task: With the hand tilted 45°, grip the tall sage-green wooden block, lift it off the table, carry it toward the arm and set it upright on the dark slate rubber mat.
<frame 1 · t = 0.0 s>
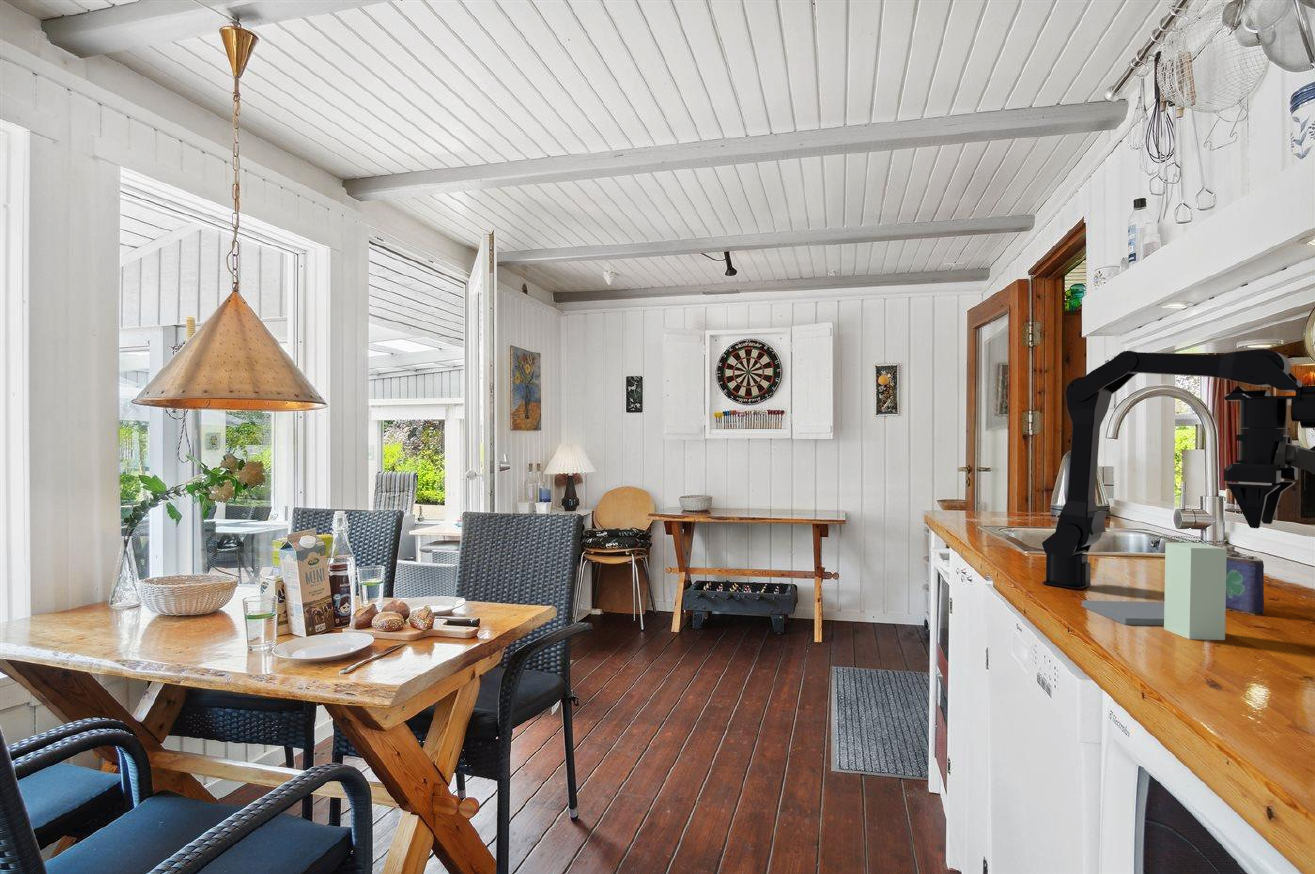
hand: (1261, 525, 110), 15 cm above the worktop, tool pointing down, fingers open, 9 cm apart
sage block: (1193, 634, 100), on the worktop
clover slab: (1229, 610, 115), on the worktop
slate mat: (1146, 615, 110), on the worktop
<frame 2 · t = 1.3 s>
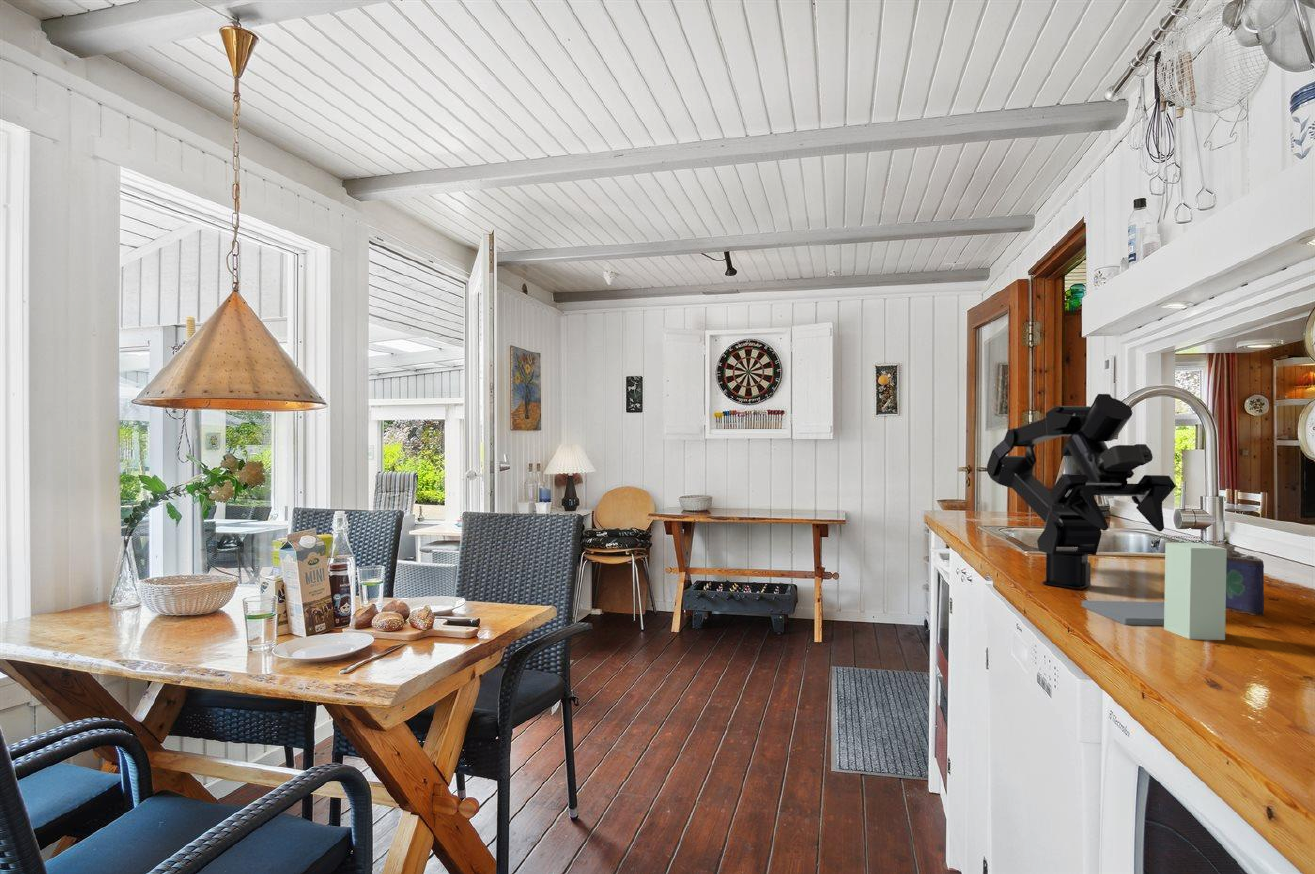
hand: (1133, 529, 114), 13 cm above the worktop, tool tilted 45°, fingers open, 9 cm apart
nothing on the worktop moved.
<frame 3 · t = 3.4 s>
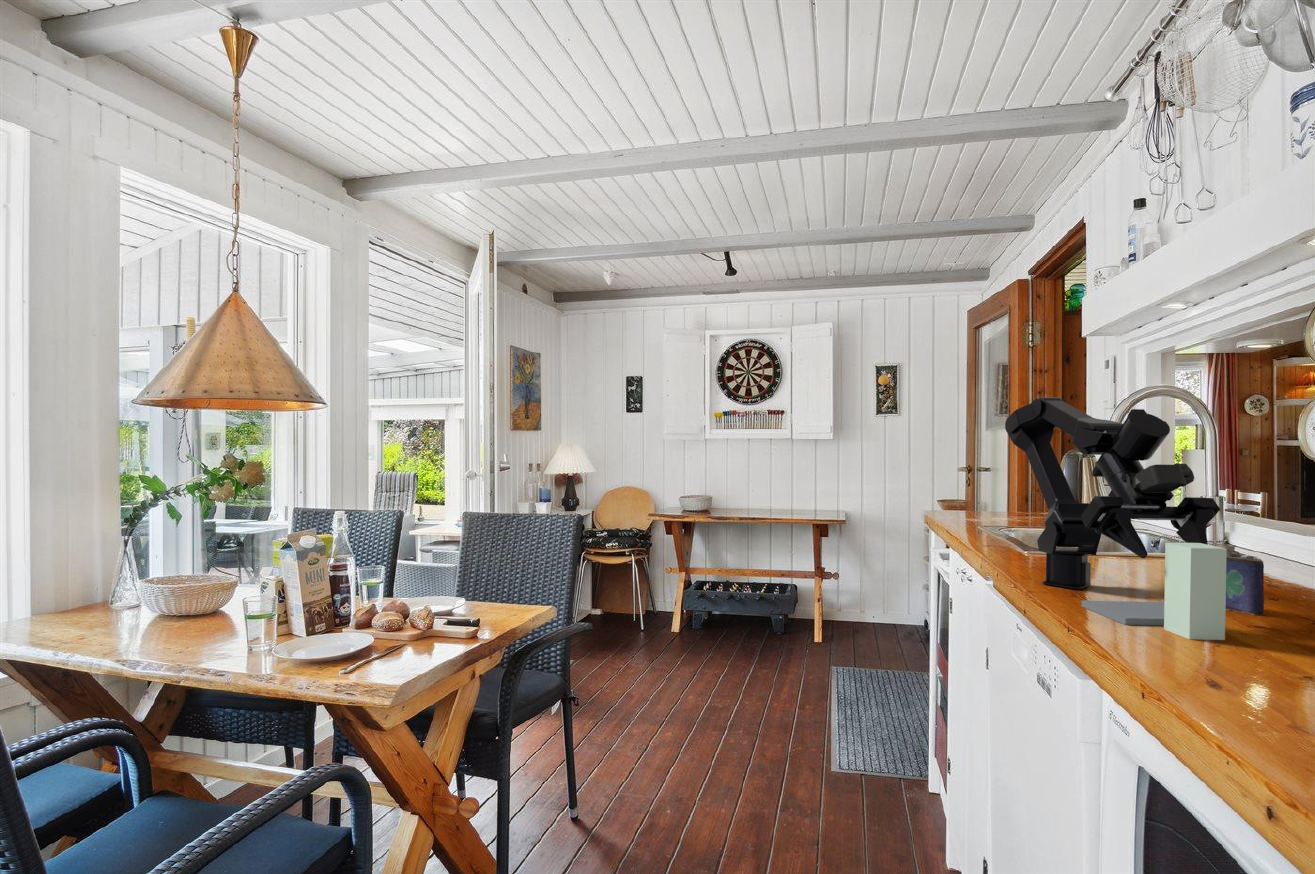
hand: (1175, 557, 104), 11 cm above the worktop, tool tilted 45°, fingers open, 9 cm apart
nothing on the worktop moved.
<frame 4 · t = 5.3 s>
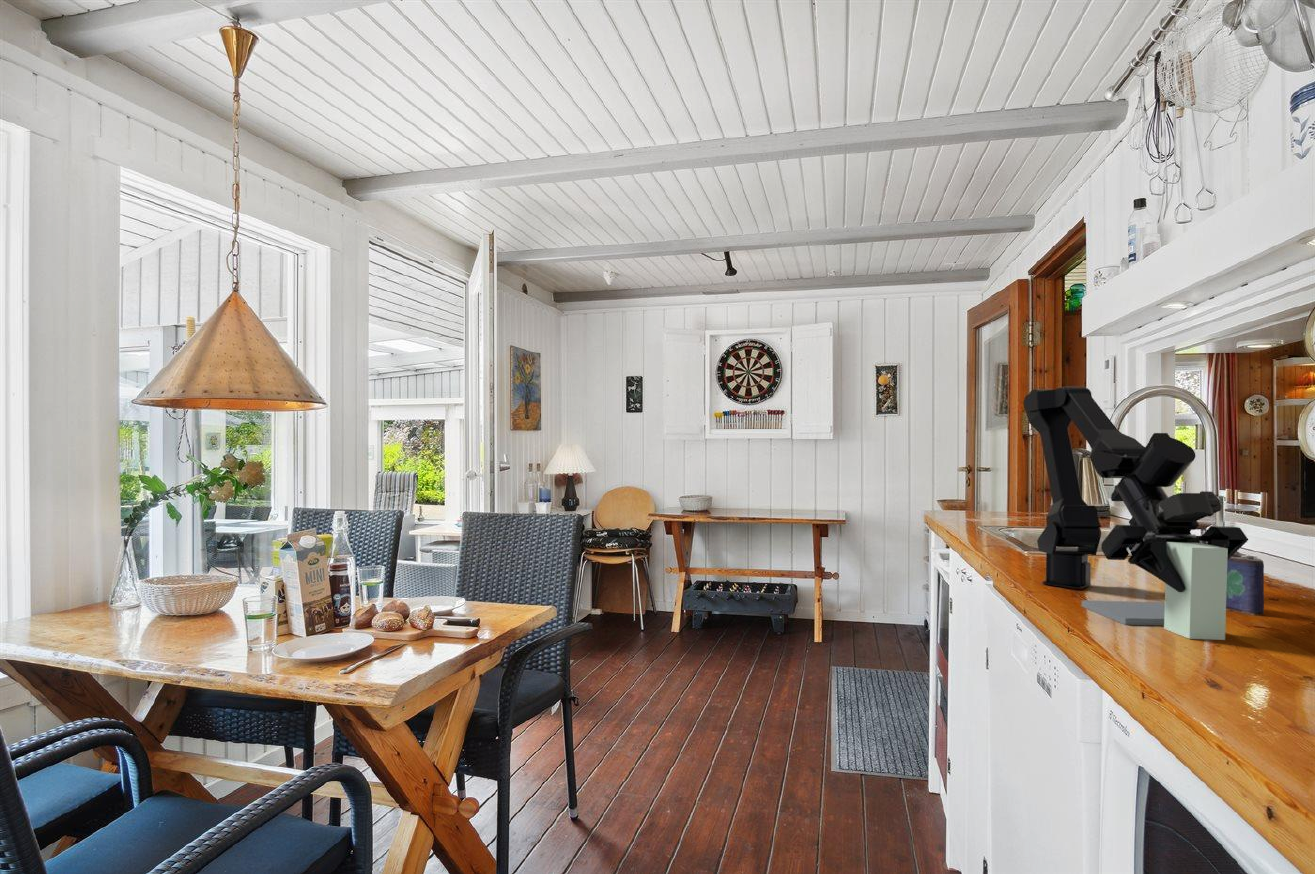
hand: (1202, 591, 99), 7 cm above the worktop, tool tilted 45°, fingers closed on sage block, 5 cm apart
sage block: (1193, 634, 100), on the worktop, touching gripper
everything else where it was.
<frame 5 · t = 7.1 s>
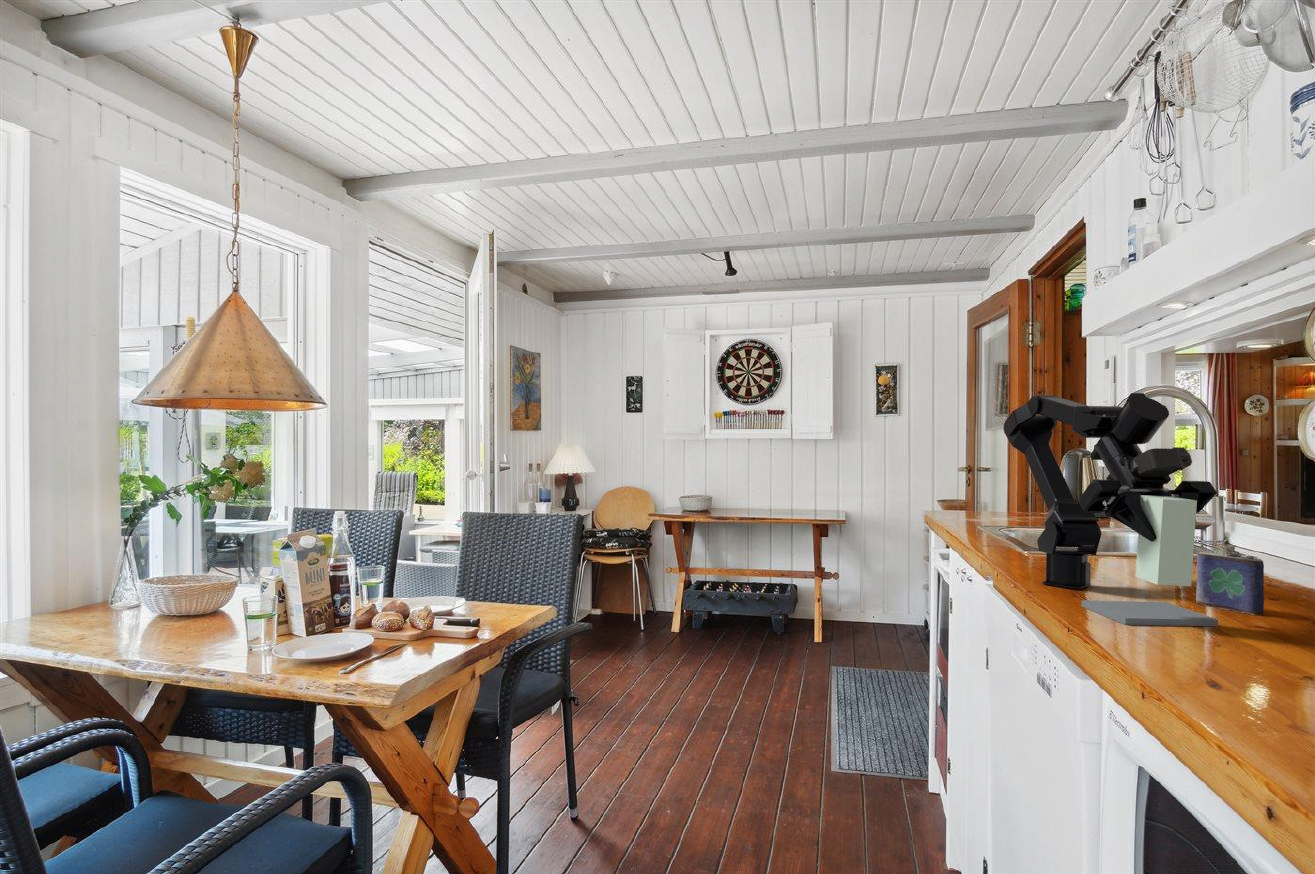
hand: (1171, 540, 105), 13 cm above the worktop, tool tilted 45°, fingers closed on sage block, 5 cm apart
sage block: (1162, 581, 106), point 6 cm above the worktop, touching gripper
everything else where it was.
when the fingers open (8 cm above the worktop, at t = 9.0 s): sage block stays where it is, resting on slate mat.
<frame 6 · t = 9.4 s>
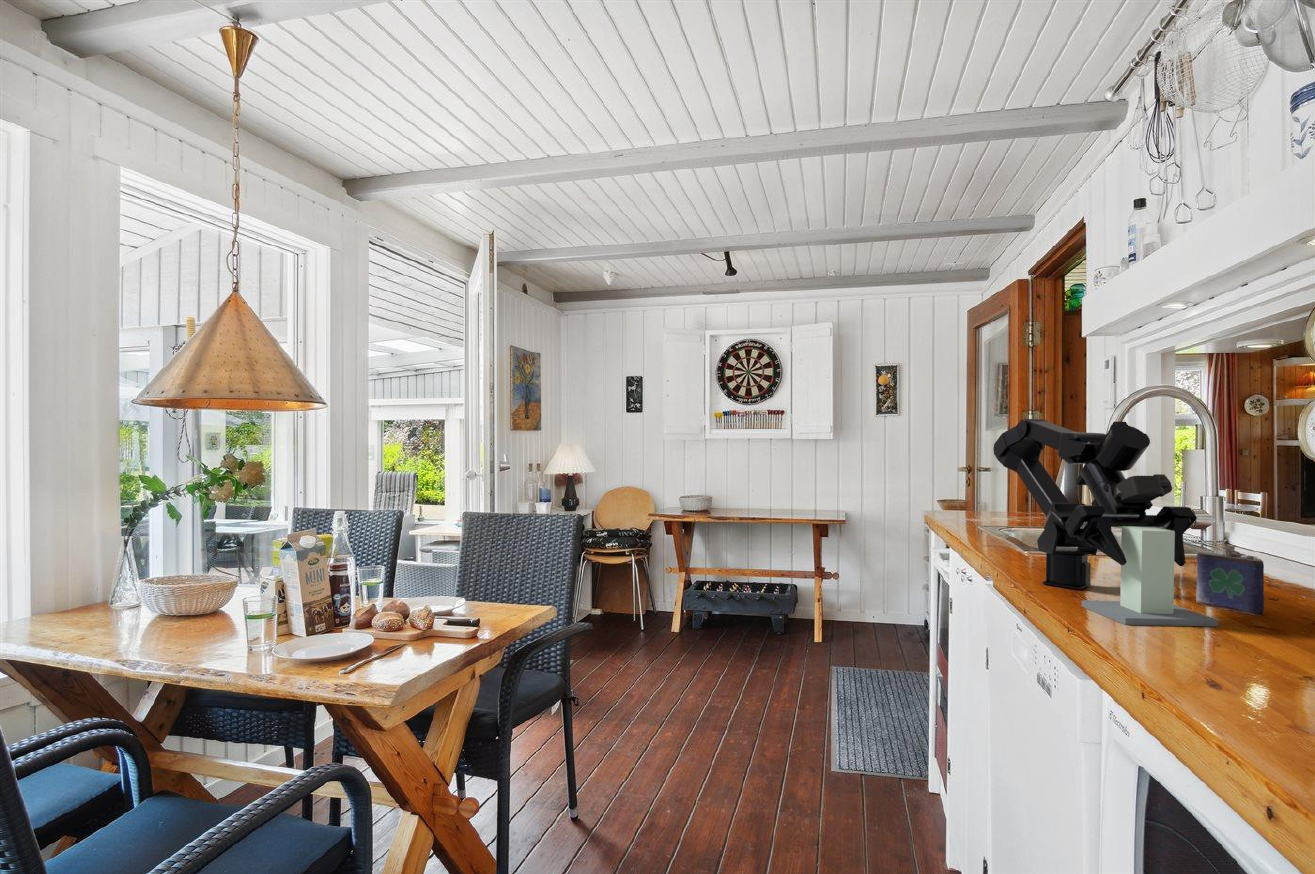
hand: (1153, 564, 109), 9 cm above the worktop, tool tilted 45°, fingers open, 9 cm apart
sage block: (1146, 609, 110), point 1 cm above the worktop, touching slate mat
everything else where it was.
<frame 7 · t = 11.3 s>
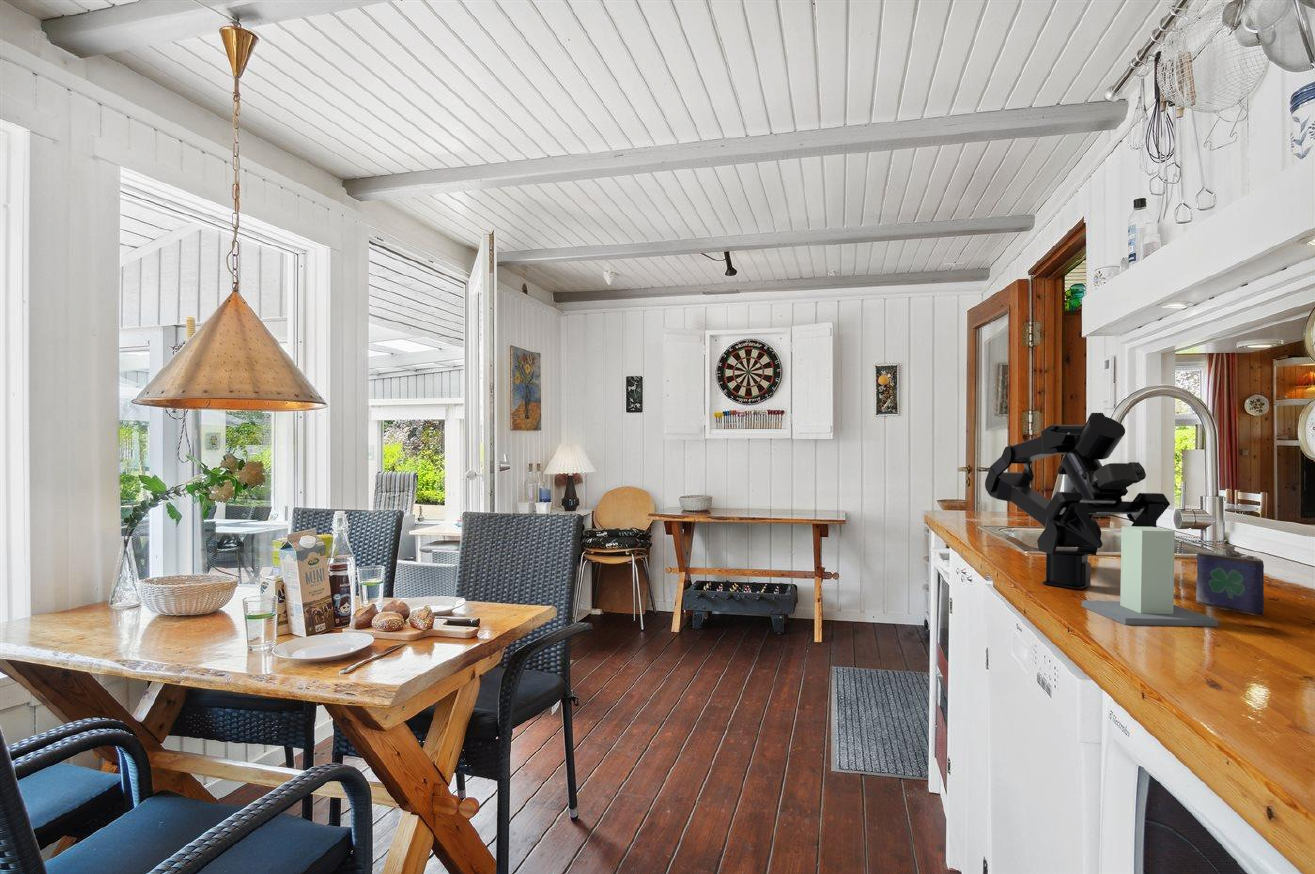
hand: (1128, 547, 115), 10 cm above the worktop, tool tilted 45°, fingers open, 9 cm apart
nothing on the worktop moved.
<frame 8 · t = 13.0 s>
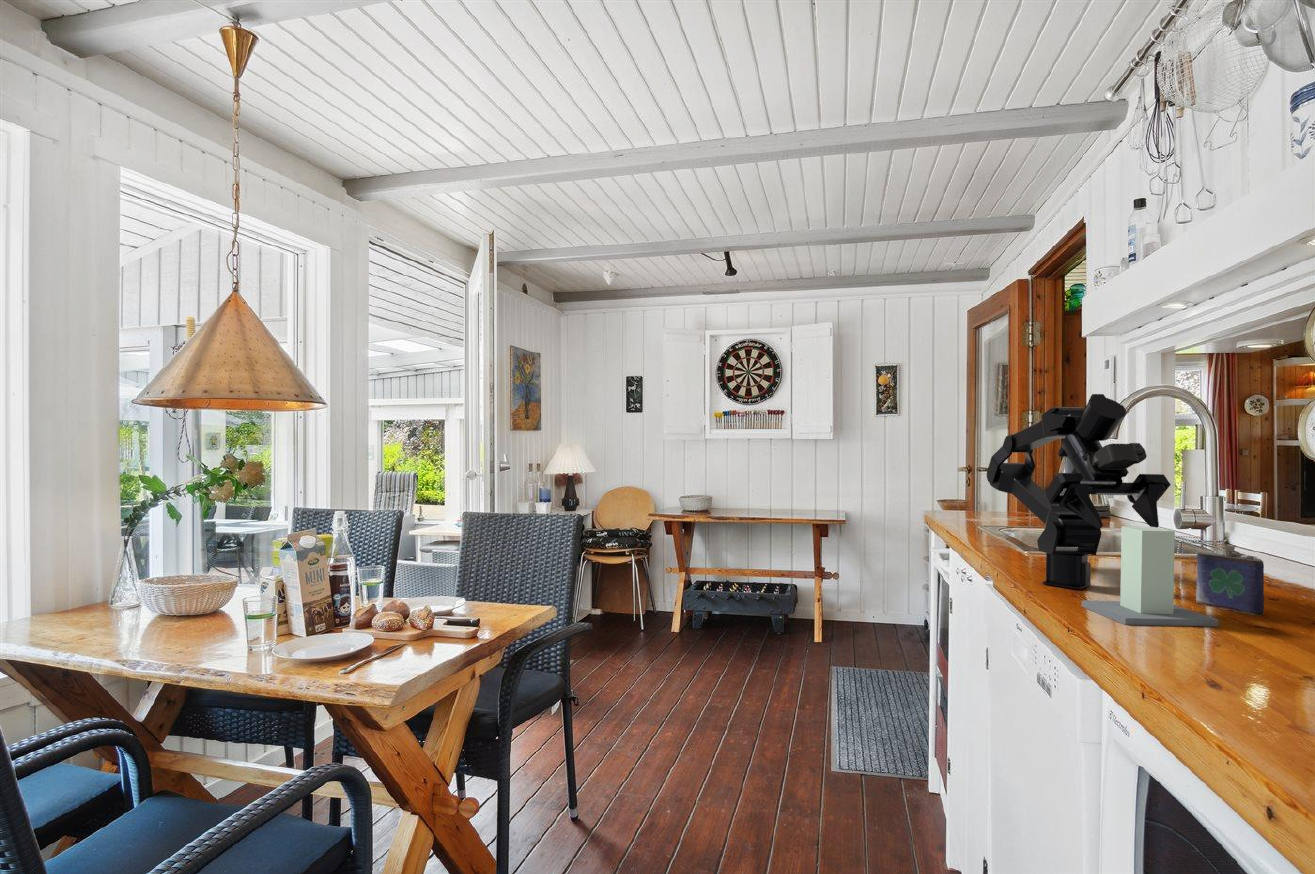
hand: (1128, 527, 115), 14 cm above the worktop, tool tilted 45°, fingers open, 9 cm apart
nothing on the worktop moved.
at the end: sage block inside the target area on the slate mat (0.1 cm from its centre), point 1.0 cm above the slate mat's base; sage block tilted 0°; the gripper is holding nothing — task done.
